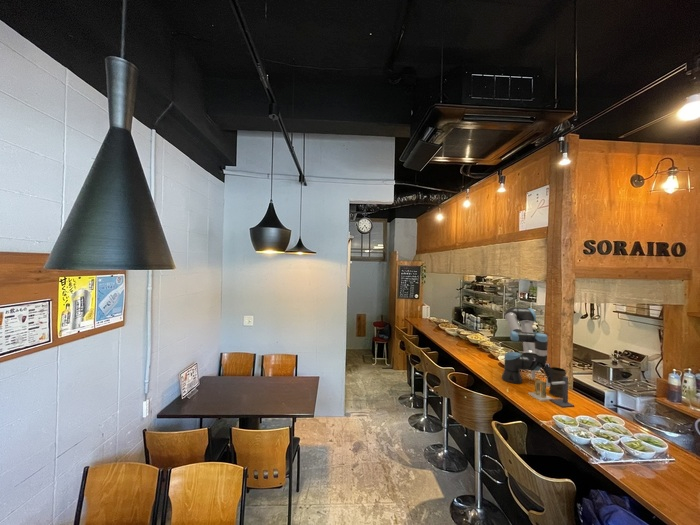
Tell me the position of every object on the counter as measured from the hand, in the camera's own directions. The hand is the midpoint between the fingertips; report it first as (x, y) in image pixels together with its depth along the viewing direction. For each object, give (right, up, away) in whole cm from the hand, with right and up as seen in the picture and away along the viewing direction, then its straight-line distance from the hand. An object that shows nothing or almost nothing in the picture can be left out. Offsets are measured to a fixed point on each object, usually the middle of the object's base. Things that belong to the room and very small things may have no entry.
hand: (540, 382), depth 213 cm
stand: (+7, -11, -10) cm, 16 cm away
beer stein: (+17, -11, +7) cm, 21 cm away
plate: (0, -11, -1) cm, 11 cm away
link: (0, -10, -1) cm, 10 cm away
